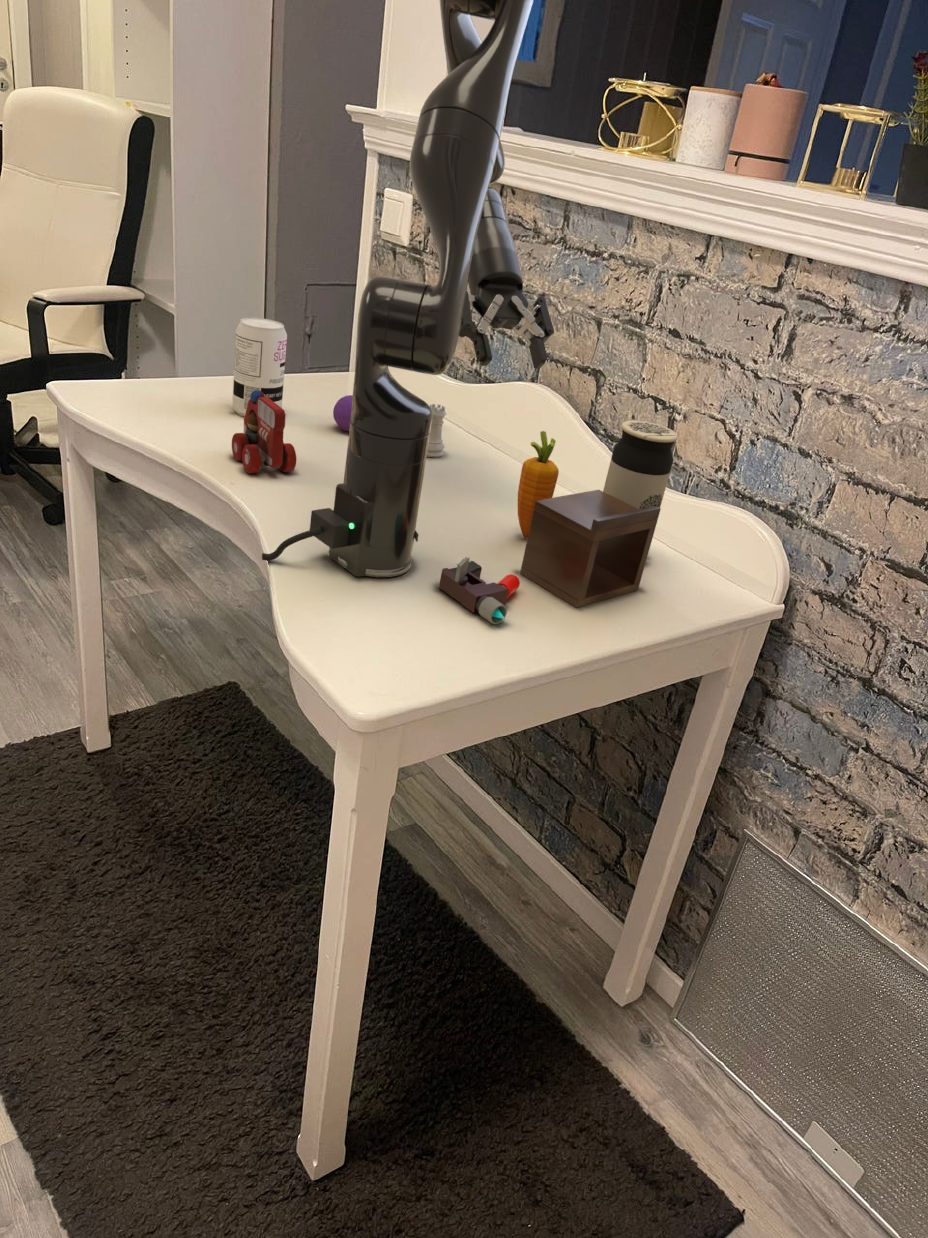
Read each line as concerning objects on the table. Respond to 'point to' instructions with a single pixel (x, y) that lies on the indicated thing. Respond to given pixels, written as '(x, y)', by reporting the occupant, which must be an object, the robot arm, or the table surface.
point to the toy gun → (478, 590)
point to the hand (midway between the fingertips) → (514, 364)
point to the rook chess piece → (436, 432)
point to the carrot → (536, 481)
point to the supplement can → (258, 361)
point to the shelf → (588, 546)
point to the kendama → (343, 412)
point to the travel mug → (641, 464)
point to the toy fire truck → (263, 437)
